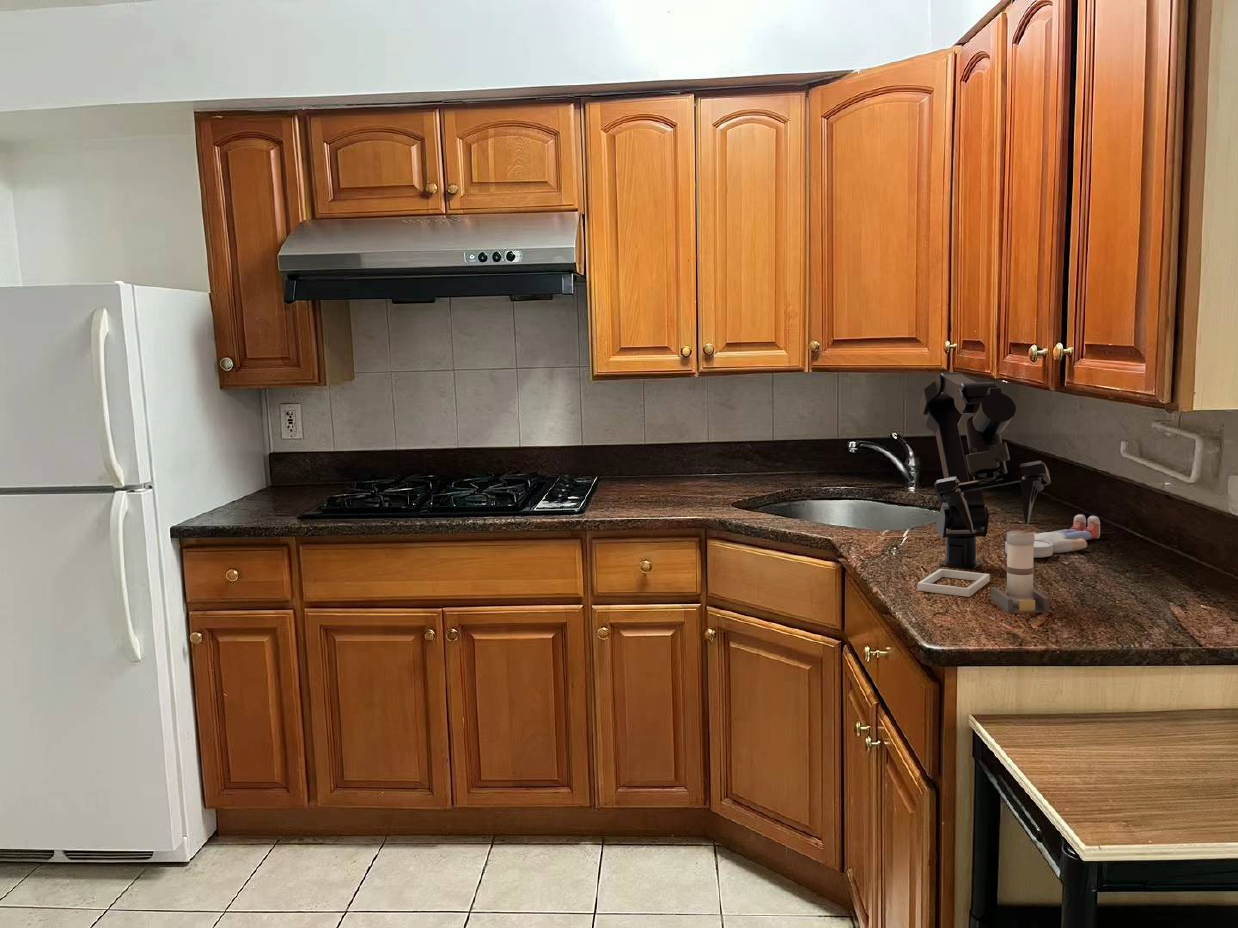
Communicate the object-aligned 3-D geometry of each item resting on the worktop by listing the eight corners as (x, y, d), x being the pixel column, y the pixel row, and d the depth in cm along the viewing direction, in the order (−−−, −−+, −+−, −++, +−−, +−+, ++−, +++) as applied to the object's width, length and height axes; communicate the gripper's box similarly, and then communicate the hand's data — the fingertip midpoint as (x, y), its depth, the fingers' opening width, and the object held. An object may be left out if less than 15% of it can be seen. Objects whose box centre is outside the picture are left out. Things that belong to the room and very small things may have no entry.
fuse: (1009, 599, 163) (1010, 529, 161) (1036, 603, 160) (1037, 532, 159) (1002, 605, 160) (1003, 534, 158) (1029, 609, 157) (1030, 536, 156)
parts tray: (940, 581, 181) (940, 568, 181) (989, 587, 176) (989, 574, 175) (917, 596, 171) (917, 583, 171) (969, 603, 166) (969, 589, 166)
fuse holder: (988, 604, 165) (989, 586, 164) (1030, 603, 164) (1030, 585, 164) (1007, 619, 156) (1007, 600, 155) (1051, 618, 155) (1052, 599, 155)
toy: (1059, 511, 218) (988, 528, 199) (1116, 518, 208) (1048, 536, 190) (1058, 536, 219) (988, 556, 200) (1116, 544, 209) (1047, 565, 190)
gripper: (921, 441, 172) (933, 524, 166) (1032, 418, 163) (1049, 504, 157) (936, 462, 181) (948, 541, 175) (1043, 441, 172) (1059, 523, 166)
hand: (998, 528), depth 168 cm, fingers open, 9 cm apart
